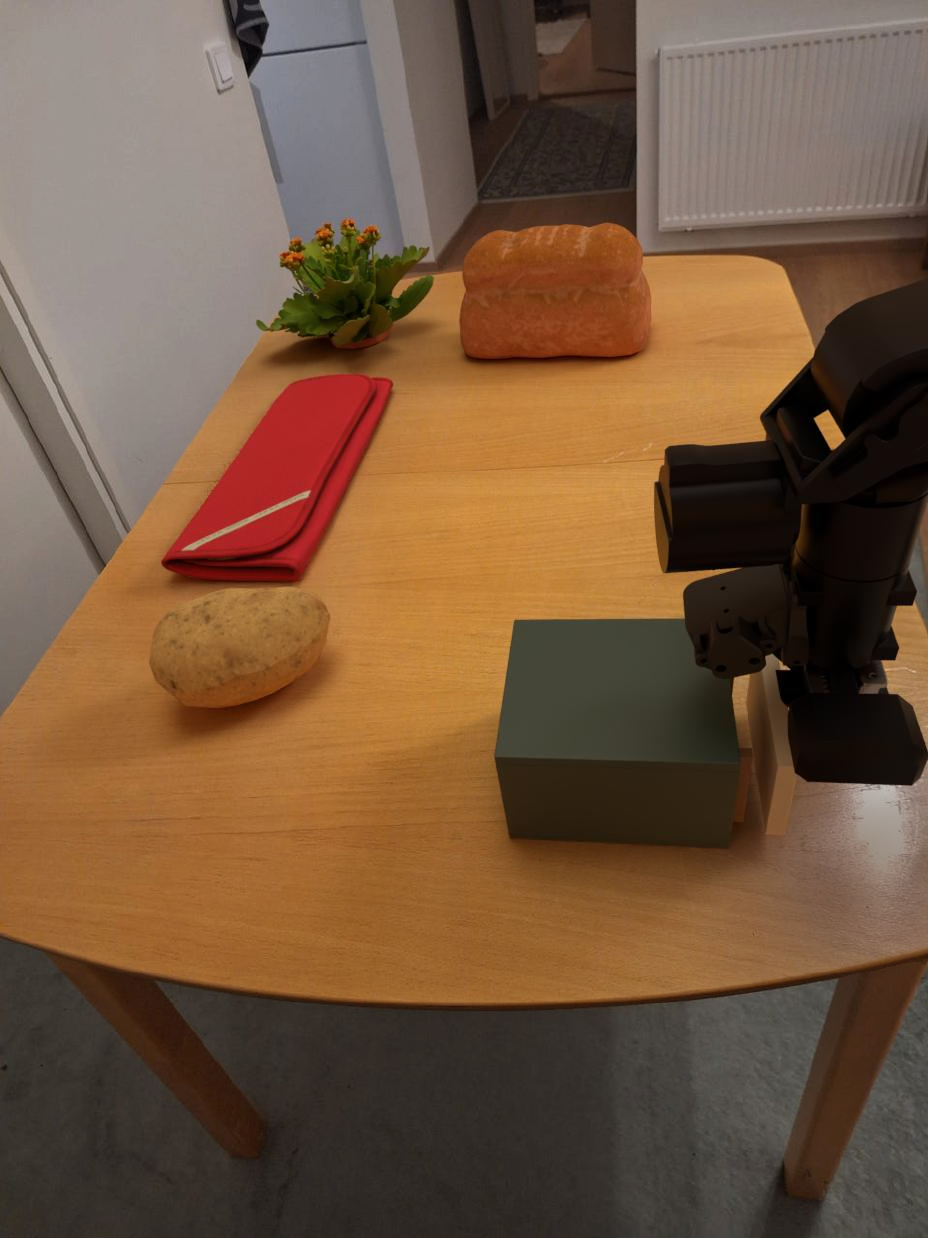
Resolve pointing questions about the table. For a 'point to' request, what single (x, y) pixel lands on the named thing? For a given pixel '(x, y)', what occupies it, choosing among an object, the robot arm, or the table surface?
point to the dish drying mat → (283, 483)
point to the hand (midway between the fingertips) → (808, 734)
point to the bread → (555, 293)
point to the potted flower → (347, 287)
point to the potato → (238, 644)
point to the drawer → (767, 751)
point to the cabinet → (615, 736)
